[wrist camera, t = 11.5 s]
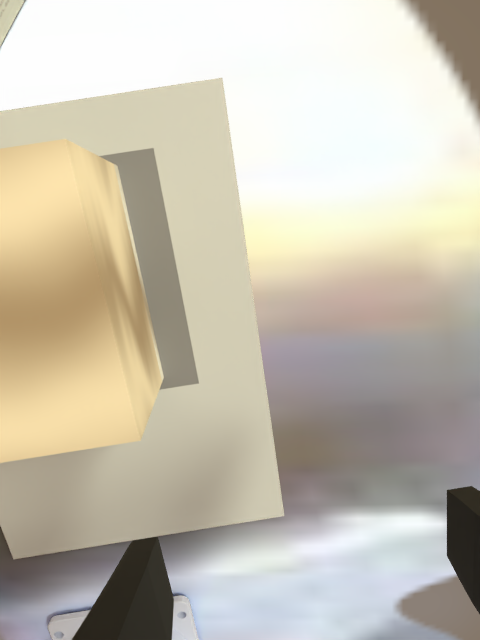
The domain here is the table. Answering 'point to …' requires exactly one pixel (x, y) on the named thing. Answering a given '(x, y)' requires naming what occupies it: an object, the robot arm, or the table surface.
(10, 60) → the table surface
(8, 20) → the small box
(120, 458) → the board
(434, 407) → the table surface
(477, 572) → the robot arm
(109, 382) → the block
